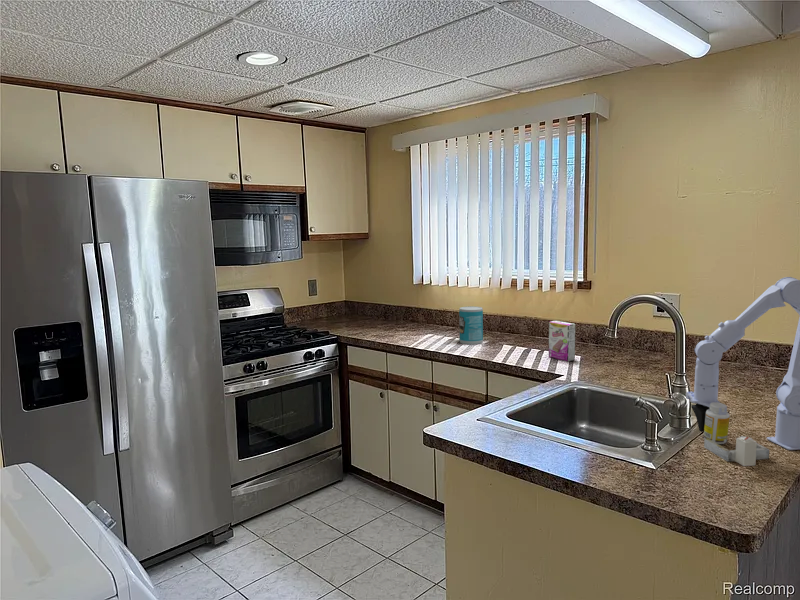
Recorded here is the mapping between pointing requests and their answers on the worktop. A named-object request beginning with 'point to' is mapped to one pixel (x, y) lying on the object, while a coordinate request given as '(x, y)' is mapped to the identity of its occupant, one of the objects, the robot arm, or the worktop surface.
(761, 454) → the scale bay
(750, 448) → the block
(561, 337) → the candy bar box
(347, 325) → the worktop surface
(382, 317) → the worktop surface
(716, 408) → the supplement bottle
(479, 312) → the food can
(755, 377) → the worktop surface
